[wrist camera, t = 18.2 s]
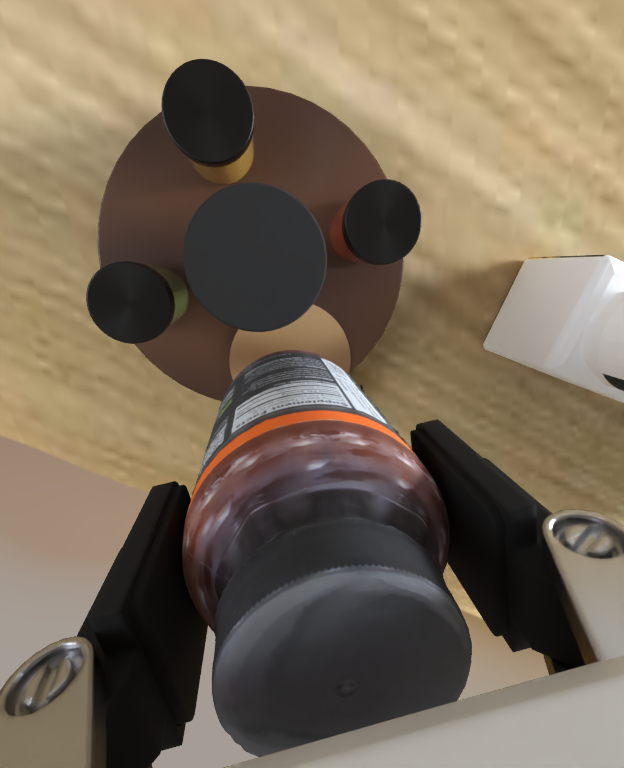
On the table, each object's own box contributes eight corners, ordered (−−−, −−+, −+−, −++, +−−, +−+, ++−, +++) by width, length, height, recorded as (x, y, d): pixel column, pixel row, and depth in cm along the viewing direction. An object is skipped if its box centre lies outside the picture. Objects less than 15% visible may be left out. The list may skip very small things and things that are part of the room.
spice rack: (46, 148, 21) (-200, 11, 10) (359, 54, 21) (464, -179, 10) (184, 448, 27) (130, 576, 16) (425, 368, 27) (537, 438, 16)
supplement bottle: (353, 475, 18) (496, 800, 7) (221, 476, 17) (147, 846, 6) (366, 347, 16) (581, 512, 5) (220, 342, 15) (113, 525, 4)
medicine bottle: (599, 291, 29) (814, 307, 18) (552, 376, 31) (722, 440, 20) (524, 256, 28) (707, 248, 16) (479, 347, 29) (617, 397, 18)
